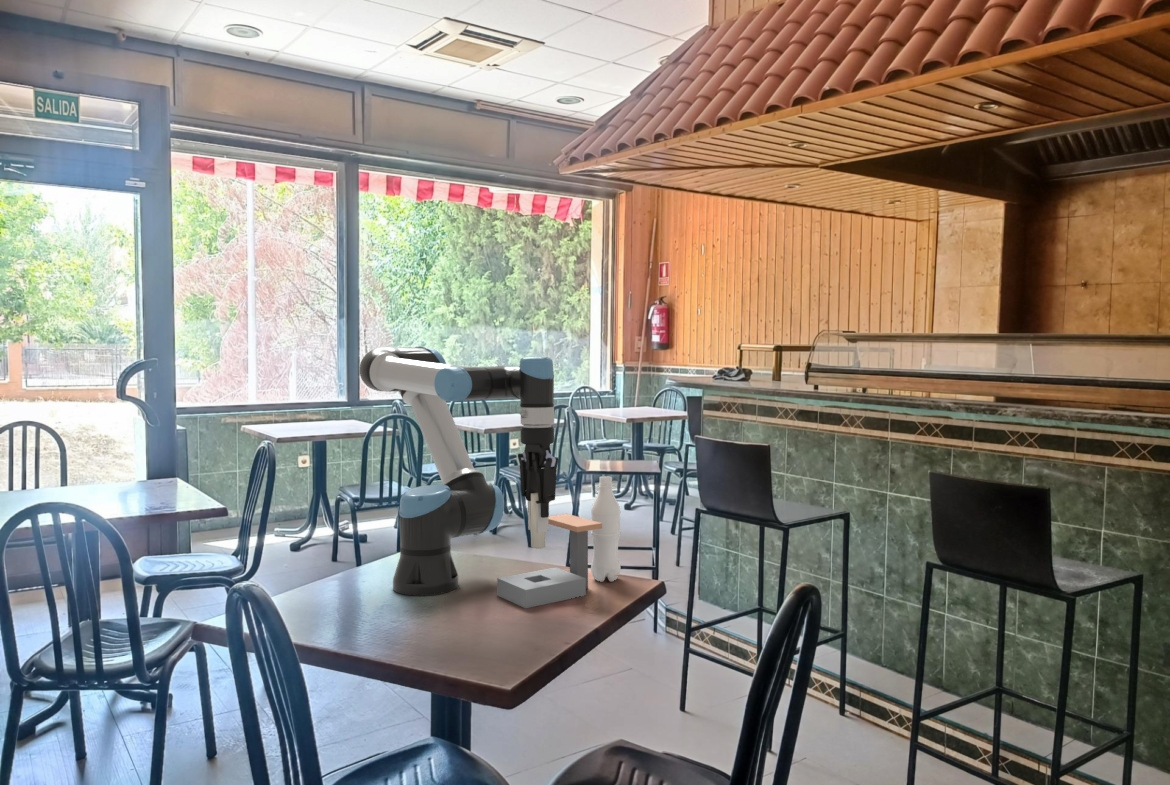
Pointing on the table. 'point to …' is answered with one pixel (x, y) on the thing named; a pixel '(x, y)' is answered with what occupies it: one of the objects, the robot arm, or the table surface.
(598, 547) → the water bottle
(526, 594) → the socket block
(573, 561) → the wooden topped pedestal
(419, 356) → the robot arm
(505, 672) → the table surface
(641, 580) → the table surface
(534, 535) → the peg
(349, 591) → the table surface
